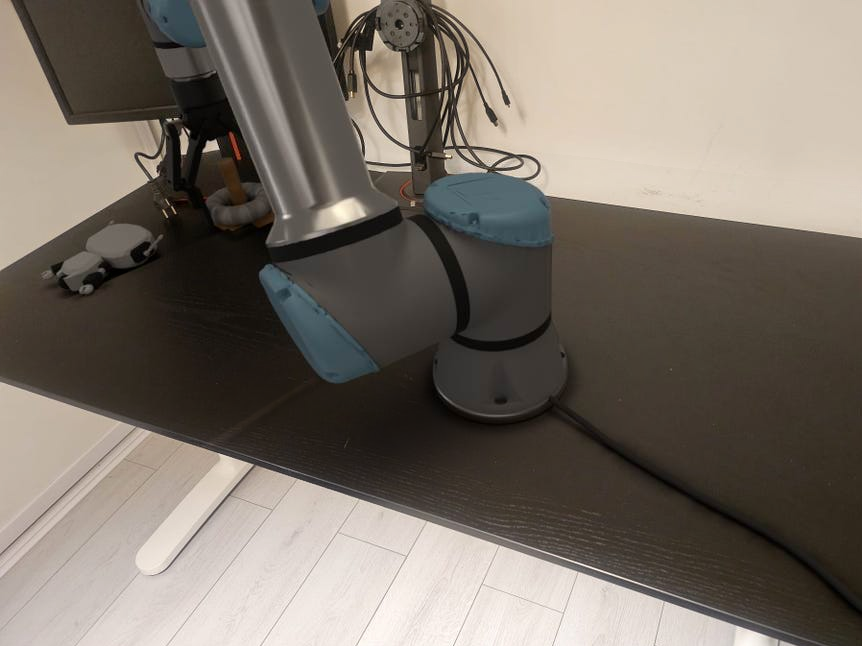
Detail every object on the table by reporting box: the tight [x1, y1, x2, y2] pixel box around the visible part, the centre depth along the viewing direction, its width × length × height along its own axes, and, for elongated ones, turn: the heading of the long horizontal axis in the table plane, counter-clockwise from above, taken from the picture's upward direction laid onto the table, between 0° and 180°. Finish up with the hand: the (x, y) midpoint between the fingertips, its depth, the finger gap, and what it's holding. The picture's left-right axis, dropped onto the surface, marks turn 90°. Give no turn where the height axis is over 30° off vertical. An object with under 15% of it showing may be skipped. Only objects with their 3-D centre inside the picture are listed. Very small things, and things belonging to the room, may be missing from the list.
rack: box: [214, 156, 275, 231], centre depth 101 cm, size 9×9×10 cm
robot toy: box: [41, 220, 164, 295], centre depth 93 cm, size 12×4×15 cm
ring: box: [205, 182, 272, 226], centre depth 102 cm, size 12×12×3 cm
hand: (243, 210), depth 103 cm, fingers closed on ring, 12 cm apart
